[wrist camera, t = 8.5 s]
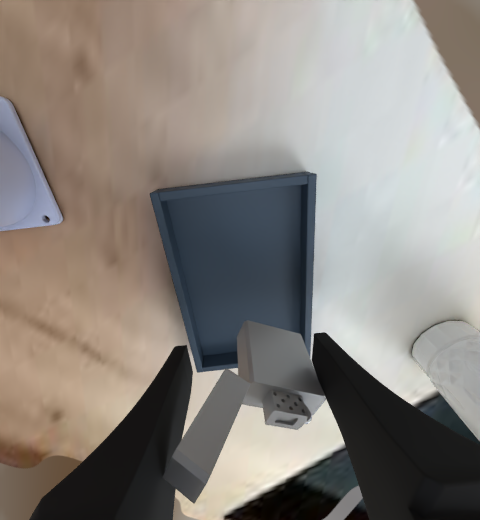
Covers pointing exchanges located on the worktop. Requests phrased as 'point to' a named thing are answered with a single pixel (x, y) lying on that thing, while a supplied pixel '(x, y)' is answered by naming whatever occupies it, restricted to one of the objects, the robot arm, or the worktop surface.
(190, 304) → the tray
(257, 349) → the lighter
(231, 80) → the worktop surface
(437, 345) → the white cup
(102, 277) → the worktop surface
